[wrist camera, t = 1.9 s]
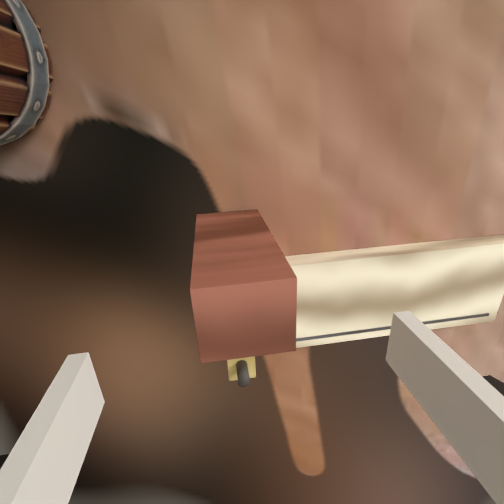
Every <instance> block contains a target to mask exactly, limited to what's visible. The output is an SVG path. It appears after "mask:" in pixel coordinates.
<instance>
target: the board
mask: <svg viewBox="0 0 504 504" xmlns="http://www.w3.org/2000/svg"><path fill="white" fill-rule="evenodd" d="M285 258H286V259H287V261H288V263H289V265H290V266H291V268H292V270H293V271H294V273H295V275H296V277H297V315H296V348H299V347H306V346H314V345H321V344H328V343H335V342H343V341H350V340H358V339H364V338H372V337H380V336H387V335H390V330H391V324H392V318H393V313H394V312H402V311H410V312H411V313H412V314H413V315H415V316H416V317H417V318H418V319H419V320H420V321H421V322H422V323H423V324H424V325H426V326H427V327H428V328H429V329H430V330H431V329H438V328H446V327H453V326H460V325H468V324H475V323H482V322H490V321H494V320H495V317H496V314H497V311H498V308H499V306H500V303H501V300H502V297H503V294H504V235H503V234H501V235H491V236H481V237H471V238H461V239H452V240H442V241H432V242H422V243H412V244H402V245H392V246H383V247H373V248H363V249H353V250H343V251H333V252H323V253H313V254H304V255H294V256H285Z"/></svg>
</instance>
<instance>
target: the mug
mask: <svg viewBox="0 0 504 504" xmlns="http://www.w3.org/2000/svg"><path fill="white" fill-rule="evenodd" d="M53 79H54V77H53V67H52V60H51V57H50V53H49V49H48V45H47V44H45V43H44V42H42V39H41V29H40V27H39V25H38V23H37V22H36V20H35V18H34V17H33V15H32V13H31V12H30V10H29V9H28V8H27V6H26V5H25V4H24V2H23V1H22V0H0V146H1V145H3V144H6V143H8V142H11V141H14V140H16V139H19V138H21V137H23V136H25V135H26V134H28V133H29V132H30V131H32V130H33V129H34V128H35V126H36V122H37V120H38V118H42V119H43V117H44V115H45V113H46V111H47V109H48V108H49V105H50V101H51V97H52V93H53V92H52V90H51V87H50V83H51V81H52V80H53Z"/></svg>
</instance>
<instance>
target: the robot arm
mask: <svg viewBox="0 0 504 504" xmlns="http://www.w3.org/2000/svg"><path fill="white" fill-rule="evenodd" d="M386 361H387V363H388V364H389V365H390V366H391V368H392V369H393V370H394V372H395V373H396V374H397V375H398V377H399V378H400V379H401V381H402V382H403V383H404V385H405V386H406V387H407V388H408V390H409V391H410V392H411V394H412V395H413V396H414V398H415V399H416V400H417V401H418V403H419V404H420V405H421V407H422V408H423V409H424V410H425V412H426V413H427V414H428V416H429V417H430V418H431V420H432V421H433V422H434V423H435V425H436V426H437V427H438V429H439V430H440V431H441V433H442V434H443V435H444V436H445V438H446V439H447V440H448V442H449V443H450V444H451V445H452V447H453V448H454V449H455V451H456V452H457V453H458V455H459V456H460V457H461V458H462V460H463V461H464V462H465V464H466V465H467V466H468V468H469V469H470V470H471V471H472V473H473V474H474V475H475V477H476V478H477V479H478V480H479V482H480V483H481V484H482V486H483V487H484V488H485V490H486V491H487V492H488V493H489V495H490V496H491V497H492V499H493V500H494V501H495V503H496V504H504V383H503V382H501V381H499V380H497V379H495V378H494V377H492V376H490V375H489V376H483V377H482V376H481V375H480V374H479V373H477V372H476V371H475V370H474V369H473V368H472V367H471V366H470V365H469V364H468V363H466V362H465V361H464V360H463V359H462V358H461V357H460V356H459V355H458V354H457V353H455V352H454V351H453V350H452V349H451V348H450V347H449V346H448V345H447V344H445V343H444V342H443V341H442V340H441V339H440V338H439V337H438V336H437V335H436V334H434V333H433V332H432V331H431V330H430V329H429V328H428V327H427V326H426V325H424V324H423V323H422V322H421V321H420V320H419V319H418V318H417V317H416V316H415V315H413V314H412V313H411V312H410V311H402V312H394V313H393V318H392V324H391V330H390V336H389V343H388V349H387V355H386ZM104 403H105V401H104V398H103V395H102V392H101V389H100V387H99V383H98V380H97V377H96V374H95V371H94V368H93V365H92V362H91V359H90V356H89V353H88V352H87V353H80V354H72V355H68V356H67V358H66V360H65V361H64V363H63V365H62V366H61V368H60V370H59V372H58V373H57V375H56V377H55V378H54V380H53V382H52V383H51V385H50V387H49V388H48V390H47V392H46V394H45V395H44V397H43V398H42V400H41V402H40V404H39V405H38V407H37V409H36V410H35V412H34V414H33V415H32V417H31V419H30V421H29V422H28V424H27V425H26V427H25V429H24V431H23V432H22V434H21V436H20V437H19V439H18V441H17V442H16V444H15V446H14V447H13V449H12V451H11V453H10V454H7V455H1V456H0V504H68V502H69V500H70V496H71V494H72V491H73V488H74V486H75V483H76V480H77V477H78V475H79V472H80V469H81V466H82V463H83V461H84V458H85V455H86V452H87V449H88V447H89V444H90V441H91V439H92V436H93V433H94V430H95V427H96V425H97V422H98V419H99V416H100V414H101V411H102V408H103V405H104Z"/></svg>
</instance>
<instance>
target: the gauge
mask: <svg viewBox="0 0 504 504" xmlns="http://www.w3.org/2000/svg"><path fill="white" fill-rule="evenodd" d="M190 294H191V300H192V307H193V314H194V320H195V327H196V334H197V341H198V347H199V355H200V361H201V363H209V362H217V361H224V360H227V363H228V373H229V380H230V381H232V380H238V385H239V386H241V387H246V386H248V385H249V384H250V378H252V377H256V370H255V356H260V355H268V354H275V353H282V352H290V351H296V315H297V277H296V275H295V273H294V271H293V270H292V268H291V266H290V265H289V263H288V261H287V259H286V258H285V256H284V254H283V253H282V251H281V249H280V247H279V246H278V244H277V242H276V241H275V239H274V237H273V235H272V234H271V232H270V230H269V229H268V227H267V225H266V223H265V222H264V220H263V218H262V217H261V215H260V213H259V211H258V210H245V211H233V212H221V213H209V214H197V216H196V227H195V238H194V249H193V260H192V272H191V282H190Z"/></svg>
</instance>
